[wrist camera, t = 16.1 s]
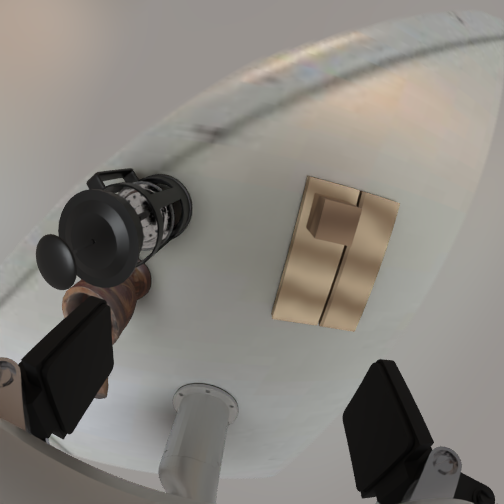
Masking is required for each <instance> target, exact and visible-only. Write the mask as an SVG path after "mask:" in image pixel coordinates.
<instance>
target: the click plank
mask: <svg viewBox="0 0 504 504" xmlns="http://www.w3.org/2000/svg"><path fill="white" fill-rule="evenodd" d="M359 192H360V191H359V190H357V189H353V188H350V187H346V186H343V185H340V184H336V183H332V182H329V181H325V180H321V179H318V178H314V177H310V176H308V177H307V181H306V185H305V189H304V193H303V197H302V201H301V205H300V209H299V213H298V217H297V221H296V225H295V229H294V233H293V237H292V240H291V244H290V248H289V252H288V255H287V259H286V263H285V266H284V270H283V274H282V277H281V281H280V285H279V288H278V292H277V295H276V299H275V302H274V306H273V309H272V313H271V314H272V319H277V320H283V321H290V322H296V323H303V324H310V325H317V324H318V322H319V319H320V316H321V314H322V311H323V308H324V305H325V302H326V300H327V297H328V294H329V291H330V288H331V285H332V282H333V279H334V276H335V273H336V270H337V267H338V264H339V261H340V258H341V255H342V252H343V248H344V245H341V244H337V243H332V242H328V241H324V240H319V239H315V238H314V237H313V236H312V234H311V233H310V232H309V231H308V229H307V228H306V226H307V222H308V218H309V214H310V210H311V207H312V203H313V199H314V195H315V193H317V194H321V195H325V196H328V197H332V198H336V199H340V200H343V201H347V202H349V203H351V204H353V205H355V206H356V204H357V200H358V196H359Z"/></svg>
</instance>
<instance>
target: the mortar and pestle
mask: <svg viewBox="0 0 504 504" xmlns="http://www.w3.org/2000/svg"><path fill="white" fill-rule="evenodd" d="M138 262H141V260H139V259H138ZM150 287H151V276H150V272H149V270H148V268H147V267H146V265H145V264H142V265H140V266H139V267H136V268H135V270H134V271H133V273H132V274H131V276H130V277H129V278H128V279H126V280H125V281H124V282H123V283H121V284H119V285H117V286H115V287H110V288H100V287H96V286H93V285H91V284H88V283H86V282H85V281H84V280H82V279H81V280H80V281H79V282H78V283H76V284H75V285H74V286H72V287H71V288H70V289H69V290H67V291H66V293H65V295H64V297H63V302H62V310H63V315H64V318H66V317H67V316H68V315H69V314H70V313H71V312H72V311H73V310H75V309H76V308H77V307H78V306H79V305H80V304H81V303H82V302H84V301H85V300H86V299H87V298H88V297H90V296H95V297H98V298H101V299H104V300H106V302H107V305H109V306H110V308H111V330H112V345H113V344H114V343H115V342H116V341H117V339H118V338H119V336H120V334H121V333H122V331H123V330H124V328H125V327H126V326H127V324H128V323H129V321H130V319H131V317H132V315H133V313H134V310H135V306H136V301H137V300H138V299H140V298H142V297H143V296H145V295H146V294H147V293H148V292H149V290H150ZM107 392H108V378H107V379H106V381H105V382H104V384H103V385H102V387H101V388H100V390H99V391H98V393H97V394H96V396H95V397H94V398H97V399H102V398H106V397H107Z"/></svg>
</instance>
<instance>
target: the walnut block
mask: <svg viewBox="0 0 504 504" xmlns="http://www.w3.org/2000/svg"><path fill="white" fill-rule="evenodd" d="M361 212H362V209H361V208H359V207H357V206H355V205H353V204H351V203H349V202H347V201H343V200H340V199H336V198H332V197H328V196H325V195H321V194H317V193H315V195H314V199H313V203H312V207H311V210H310V214H309V218H308V222H307V226H306V228H307V229H308V231H309V232H310V233H311V234H312V236H313V237H314V238H315V239H319V240H324V241H328V242H332V243H337V244H341V245H346V246H350V247H351V246H352V243H353V239H354V236H355V233H356V229H357V226H358V223H359V219H360V216H361Z"/></svg>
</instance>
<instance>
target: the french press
mask: <svg viewBox="0 0 504 504" xmlns="http://www.w3.org/2000/svg"><path fill="white" fill-rule="evenodd" d="M118 178H123V179H124V181H125V182H122V183H116V184H111V185H108V186H106V187H105V185H104V183H103V181H107V180H112V179H118ZM154 184H164V185H167V186H169V187H171V188H169V189H166V190H162V189H160V188H159V187H158V186H156V185H154ZM87 186H88V187H89V189H90V190H85V191H82V192H80V193H78V194H76V195H74V196H73V197H72V198H71V199H70V200H69V201H68V202H67V204H66V205H65V207H64V209H63V211H62V213H61V217H60V221H59V230H58V232H59V237H58V236H56V235H52V234H49V235H45V236H43V237H42V238H41V239H40V241H39V243H38V245H37V249H36V261H37V265H38V268H39V271H40V273H41V275H42V276H43V278H44V279H45V281H46V282H47V283H48V284H49V285H51V286H52V287H54V288H56V289H59V290H66V289H69V288H70V287H71V286H72V285H73V284H74V282H75V280H76V275H77V276H78V277H79V278H81V279H82V280H84V281H85V282H86V283H88V284H91V285H93V286H96V287H100V288H110V287H115V286H117V285H119V284H121V283H123V282H124V281H125V280H126V279H128V278H129V277H130V276H131V274H132V273H133V271H134V270H135V268H136V267H139V266H140V265H142V264H144V263H145V262H146V261H147V260H149V259H150V258H151V257H152V256H153V255H154V254H155V253H157V252H158V251H159V250H160V249H161V248H162V247H163V246H165V245H166V244H167V243H168V242H169V241H170V240H172V239H174V238H175V237H177V236H179V235H180V234H181V233H182V232H183V231H184V230H185V229H186V227H187V226H188V224H189V222H190V219H191V215H192V202H191V198H190V195H189V193H188V191H187V189H186V188H185V187H184V185H183V184H182V183H181V182H180V181H178V180H177V179H175V178H174V177H172V176H169V175H165V174H156V175H151V176H148V177H146V178H143V179H140V180H139V179H138V177H137V176H136V174H135V172H134V171H133V169H132V168H128V169H119V170H111V171H103V172H97V173H95V174H94V175H93V176H92V177H91V178H90V179H89V180H88V181H87ZM116 192H119V193H118V194H115V193H116ZM177 200H180V201H181V205H182V214H181V218H180V220H179V222H178V224H177V225H176V226H175V227H174V228H173V226H174V209H173V205H172V203H173V202H175V201H177ZM141 250H143V251H147V250H153V251H152V253H151V254H150V255H148V256H147V257H146V258H145V259H144V260H143V261H141V262H138V259H139V254H140V251H141Z"/></svg>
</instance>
